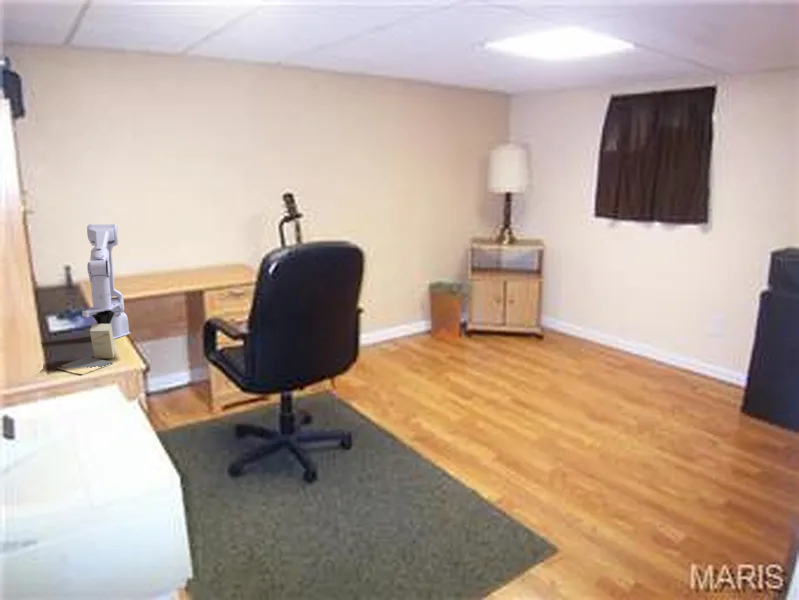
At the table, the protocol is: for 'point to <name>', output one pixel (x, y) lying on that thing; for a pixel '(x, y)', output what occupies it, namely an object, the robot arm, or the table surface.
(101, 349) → the skincare box
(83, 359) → the mat
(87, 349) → the table surface
